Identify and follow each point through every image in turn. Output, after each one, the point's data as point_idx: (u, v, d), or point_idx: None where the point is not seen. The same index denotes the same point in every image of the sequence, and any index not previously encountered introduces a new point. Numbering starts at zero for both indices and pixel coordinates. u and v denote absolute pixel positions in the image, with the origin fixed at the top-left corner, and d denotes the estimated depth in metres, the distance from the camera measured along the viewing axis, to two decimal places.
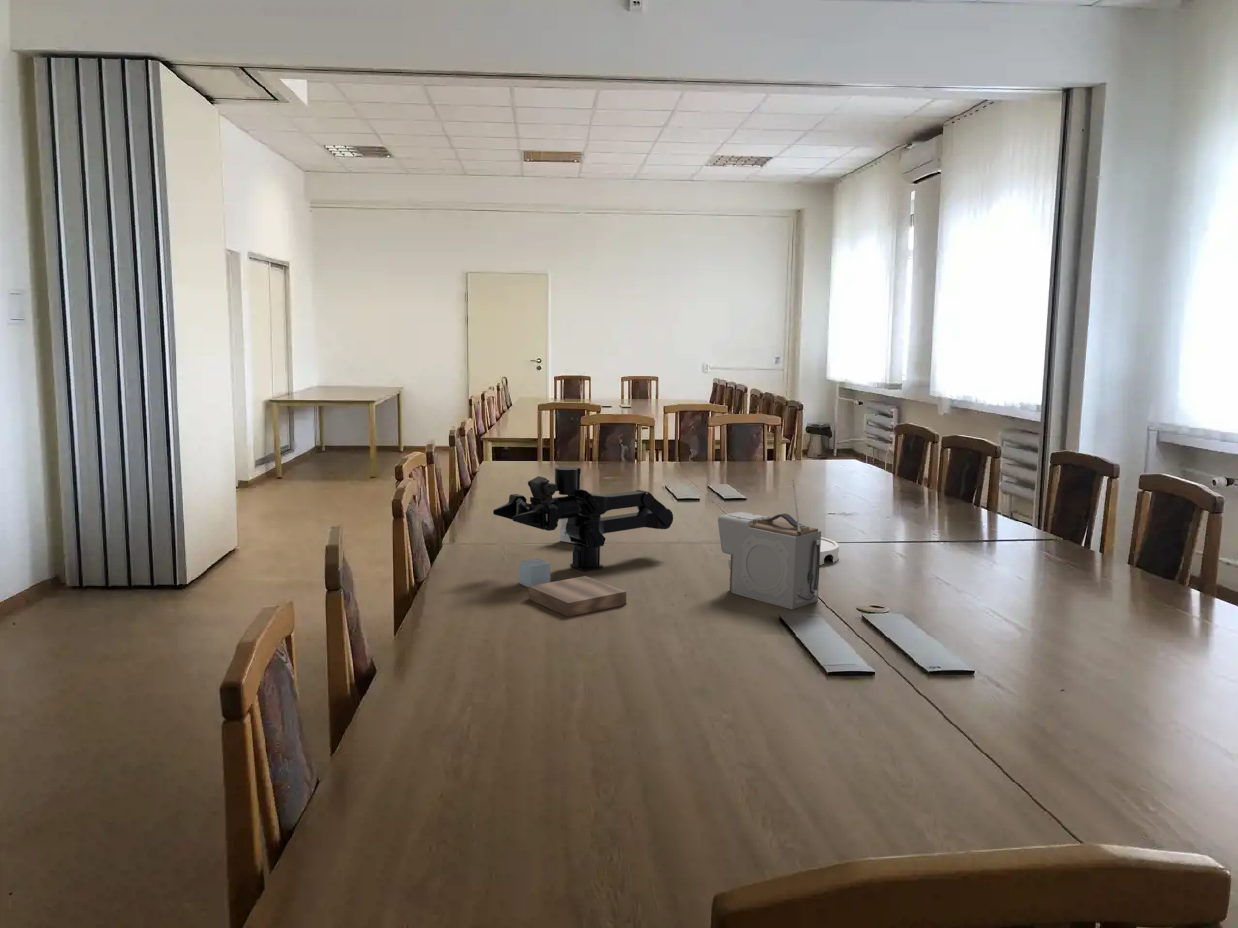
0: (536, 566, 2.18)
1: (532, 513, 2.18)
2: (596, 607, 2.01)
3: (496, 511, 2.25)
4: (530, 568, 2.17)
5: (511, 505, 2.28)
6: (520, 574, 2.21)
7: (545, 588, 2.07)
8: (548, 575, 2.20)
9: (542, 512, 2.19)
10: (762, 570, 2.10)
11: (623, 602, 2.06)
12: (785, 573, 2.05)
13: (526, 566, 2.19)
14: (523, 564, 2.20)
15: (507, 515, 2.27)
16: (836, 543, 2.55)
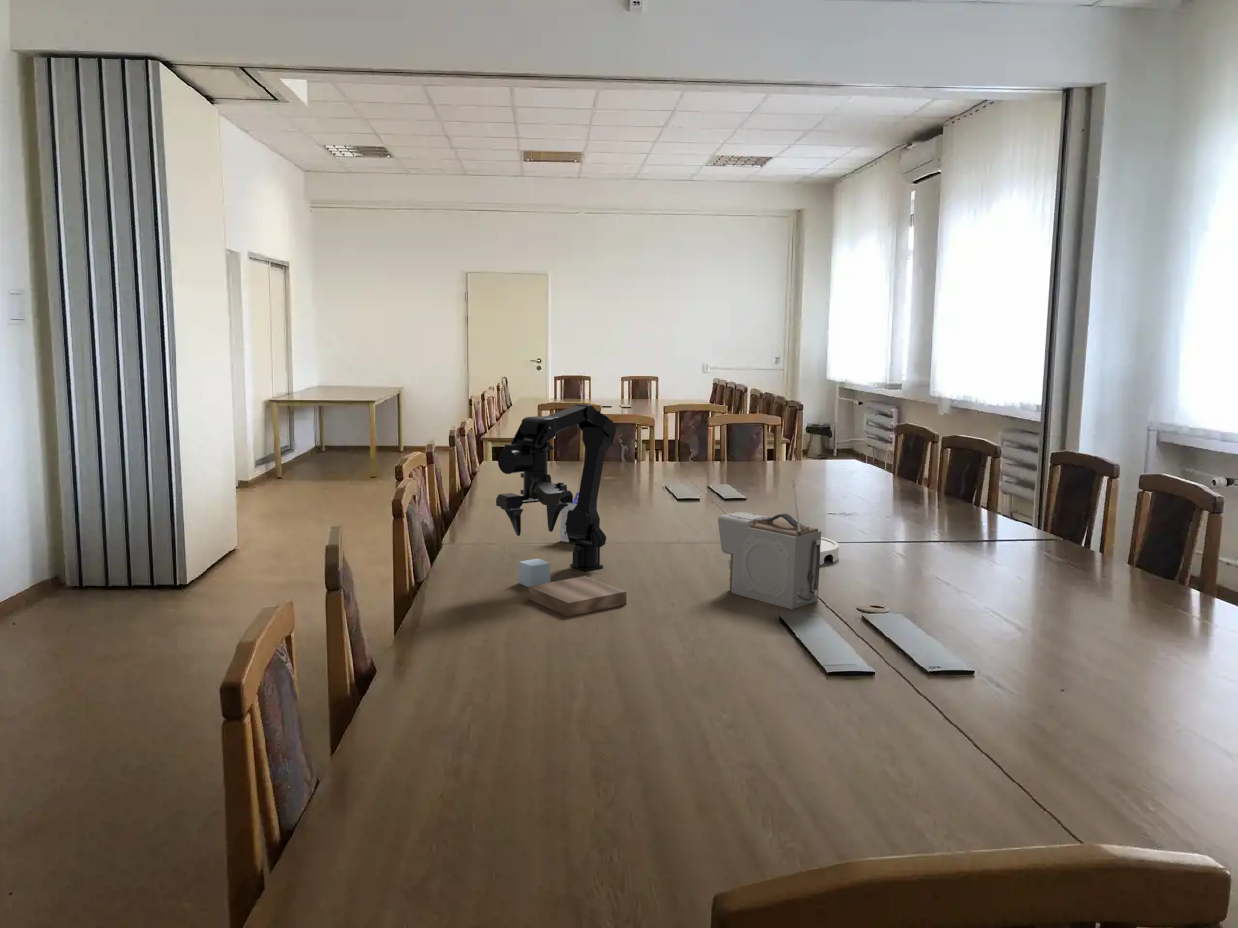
0: (536, 566, 2.18)
1: None
2: (596, 607, 2.01)
3: None
4: (530, 568, 2.17)
5: None
6: (520, 574, 2.21)
7: (545, 588, 2.07)
8: (548, 575, 2.20)
9: None
10: (762, 570, 2.10)
11: (623, 602, 2.06)
12: (785, 573, 2.05)
13: (526, 566, 2.19)
14: (523, 564, 2.20)
15: None
16: (836, 543, 2.55)
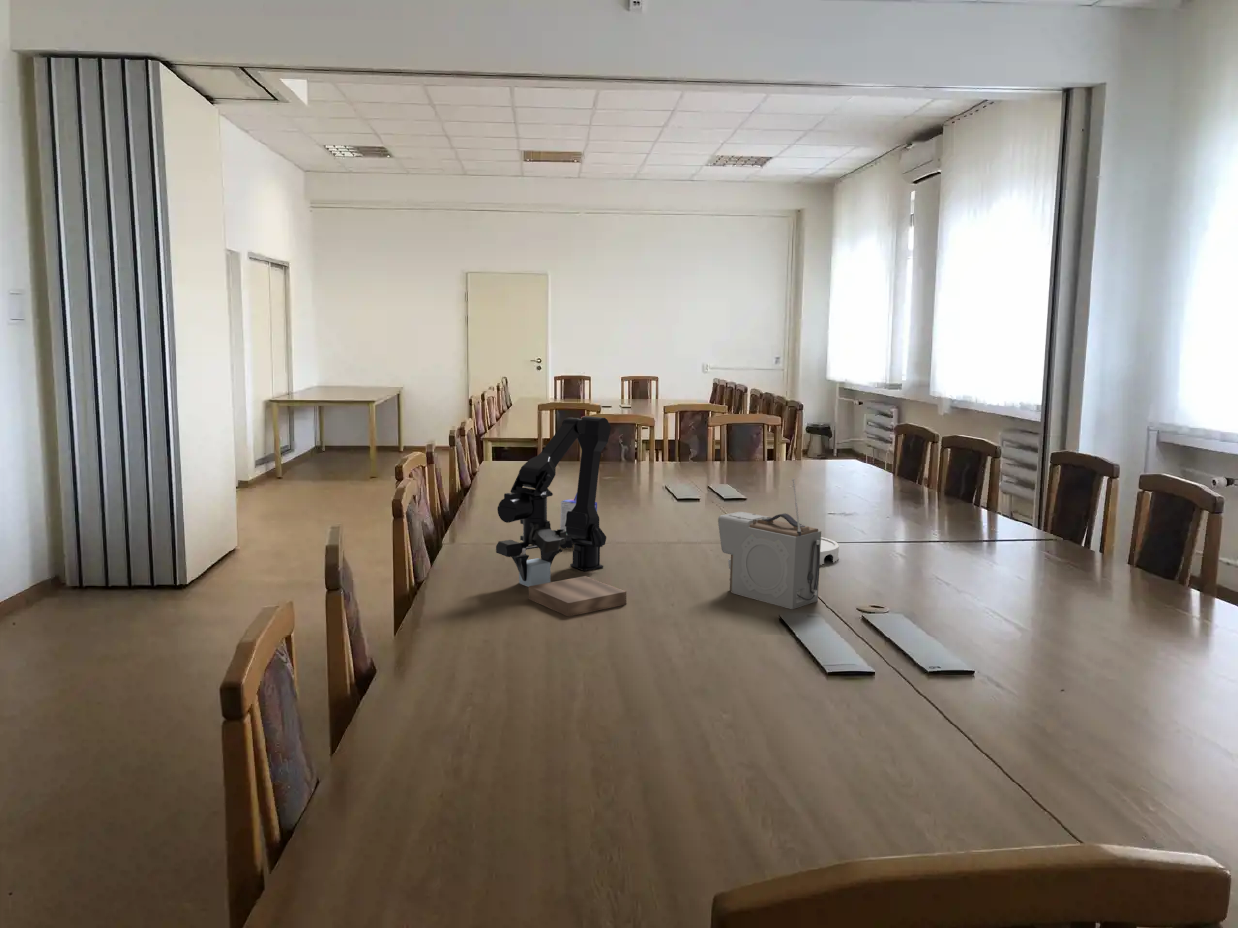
0: (536, 566, 2.18)
1: None
2: (596, 607, 2.01)
3: None
4: (530, 568, 2.17)
5: None
6: None
7: (545, 588, 2.07)
8: (548, 575, 2.20)
9: None
10: (762, 570, 2.10)
11: (623, 602, 2.06)
12: (785, 573, 2.05)
13: None
14: None
15: None
16: (836, 543, 2.55)
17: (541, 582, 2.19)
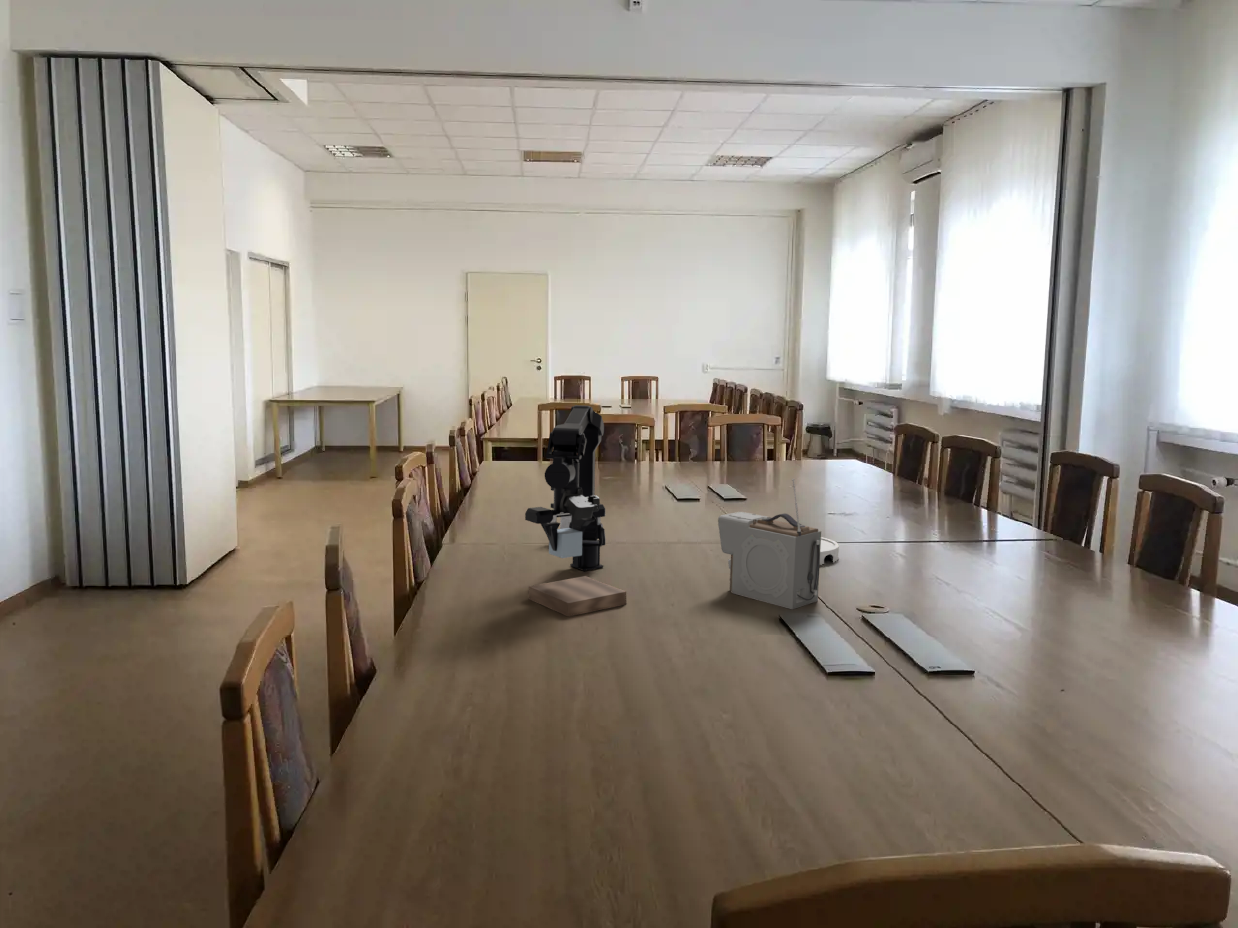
0: (567, 534, 2.06)
1: None
2: (596, 607, 2.01)
3: None
4: (561, 537, 2.05)
5: None
6: None
7: (545, 588, 2.07)
8: (580, 544, 2.08)
9: None
10: (762, 570, 2.10)
11: (623, 602, 2.06)
12: (785, 573, 2.05)
13: (557, 535, 2.06)
14: None
15: None
16: (836, 543, 2.55)
17: (572, 552, 2.07)
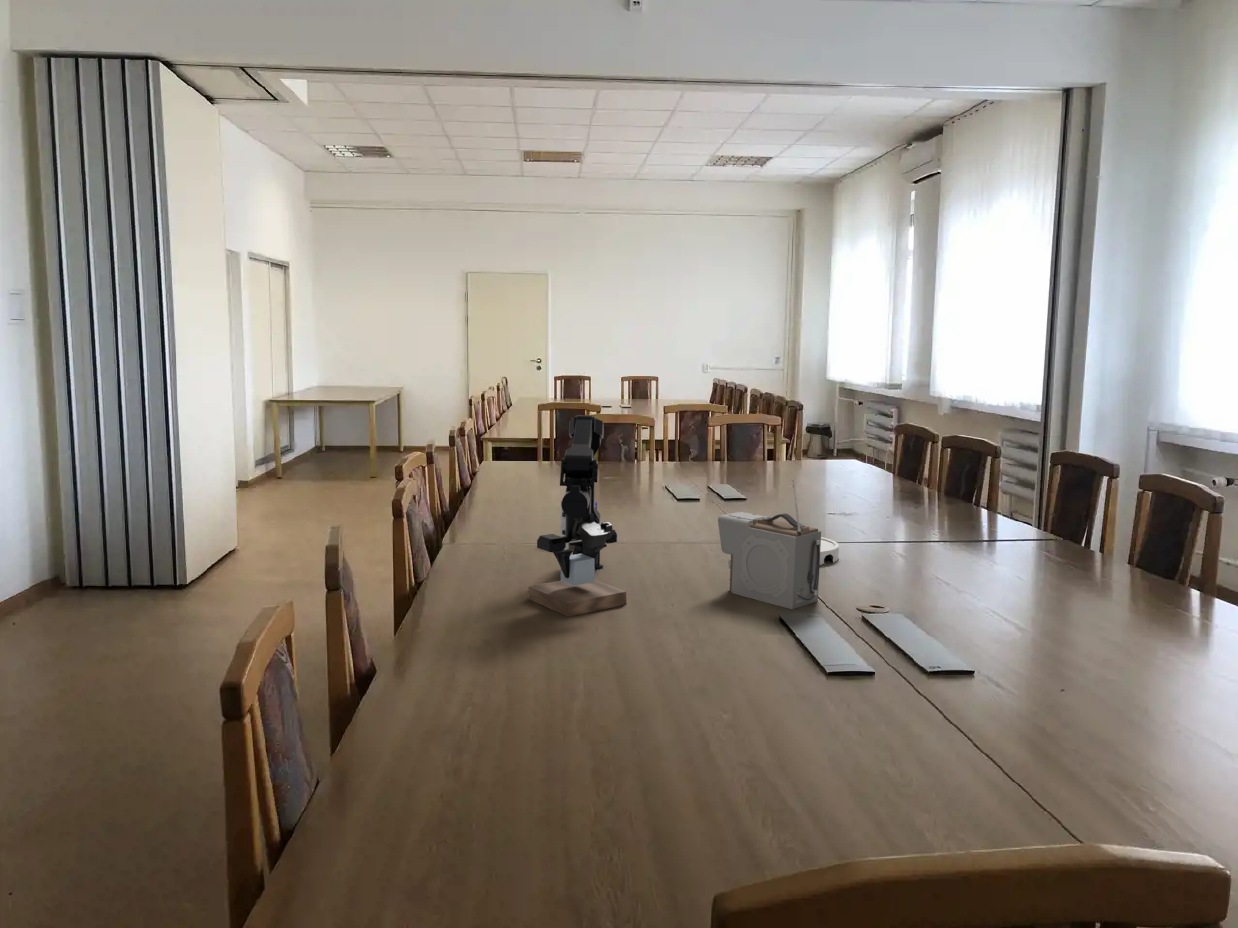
0: (580, 562, 2.03)
1: None
2: (596, 607, 2.01)
3: None
4: (573, 564, 2.03)
5: None
6: None
7: (545, 588, 2.07)
8: (592, 571, 2.06)
9: None
10: (762, 570, 2.10)
11: (623, 602, 2.06)
12: (785, 573, 2.05)
13: None
14: None
15: None
16: (836, 543, 2.55)
17: (585, 579, 2.05)
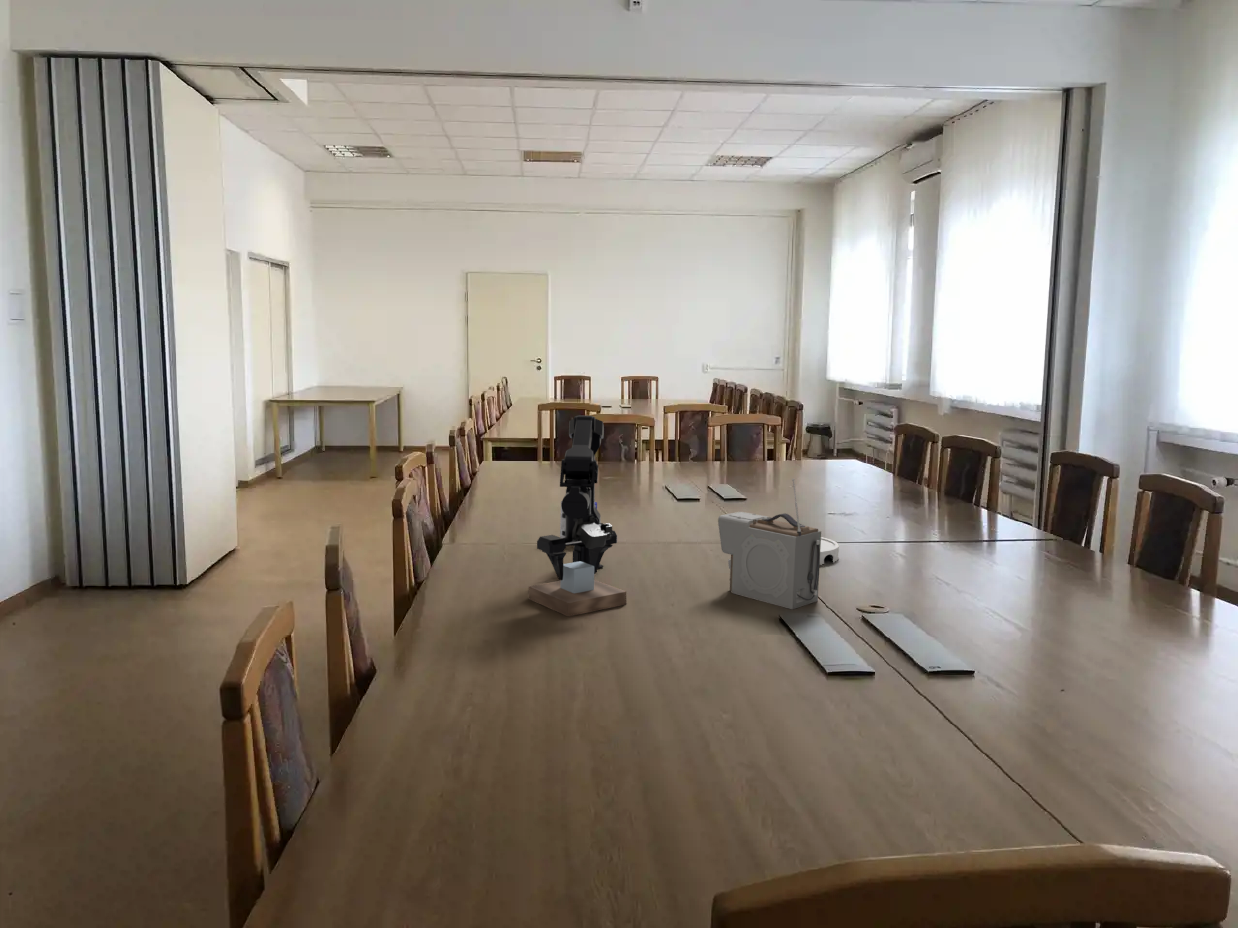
0: (579, 569, 2.04)
1: None
2: (596, 607, 2.01)
3: None
4: (573, 572, 2.03)
5: None
6: None
7: (545, 588, 2.07)
8: (592, 579, 2.06)
9: None
10: (762, 570, 2.10)
11: (623, 602, 2.06)
12: (785, 573, 2.05)
13: (569, 569, 2.04)
14: (565, 567, 2.05)
15: None
16: (836, 543, 2.55)
17: (584, 587, 2.05)
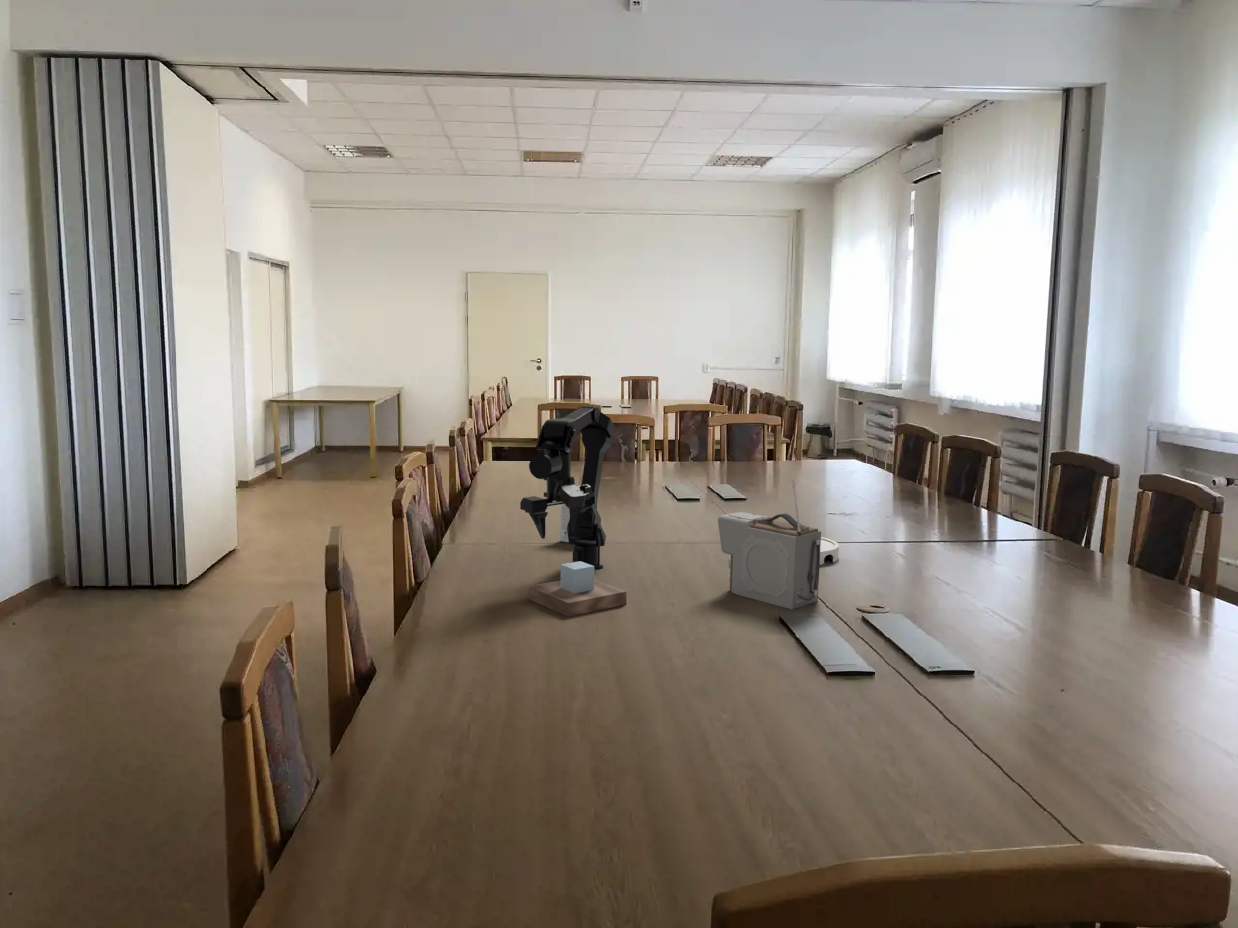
0: (579, 569, 2.04)
1: None
2: (596, 607, 2.01)
3: None
4: (573, 572, 2.03)
5: None
6: (562, 578, 2.07)
7: (545, 588, 2.07)
8: (592, 579, 2.06)
9: None
10: (762, 570, 2.10)
11: (623, 602, 2.06)
12: (785, 573, 2.05)
13: (569, 569, 2.04)
14: (565, 567, 2.05)
15: None
16: (836, 543, 2.55)
17: (584, 587, 2.05)
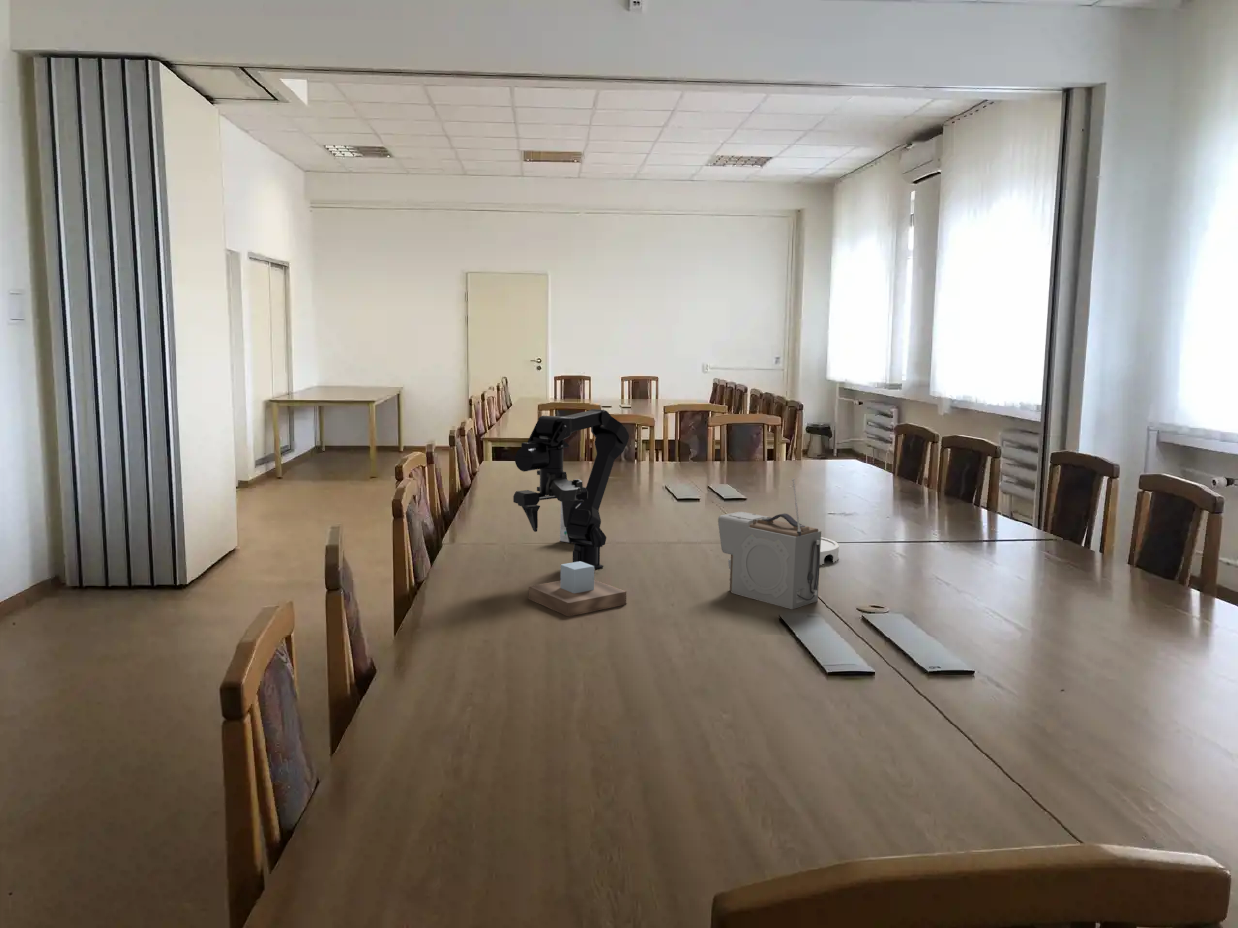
0: (579, 569, 2.04)
1: None
2: (596, 607, 2.01)
3: None
4: (573, 572, 2.03)
5: None
6: (562, 578, 2.07)
7: (545, 588, 2.07)
8: (592, 579, 2.06)
9: None
10: (762, 570, 2.10)
11: (623, 602, 2.06)
12: (785, 573, 2.05)
13: (569, 569, 2.04)
14: (565, 567, 2.05)
15: None
16: (836, 543, 2.55)
17: (584, 587, 2.05)
